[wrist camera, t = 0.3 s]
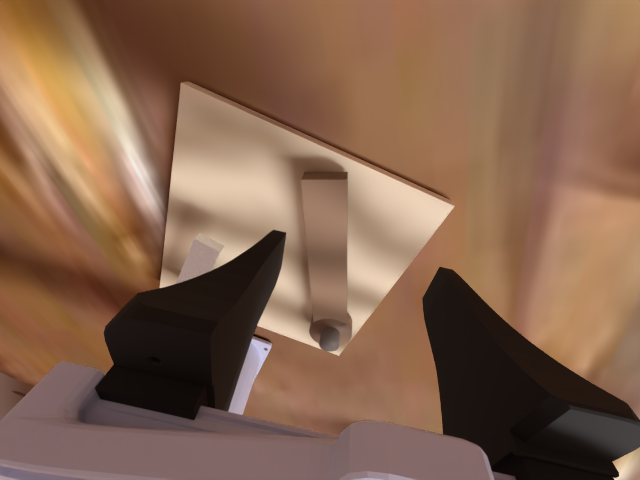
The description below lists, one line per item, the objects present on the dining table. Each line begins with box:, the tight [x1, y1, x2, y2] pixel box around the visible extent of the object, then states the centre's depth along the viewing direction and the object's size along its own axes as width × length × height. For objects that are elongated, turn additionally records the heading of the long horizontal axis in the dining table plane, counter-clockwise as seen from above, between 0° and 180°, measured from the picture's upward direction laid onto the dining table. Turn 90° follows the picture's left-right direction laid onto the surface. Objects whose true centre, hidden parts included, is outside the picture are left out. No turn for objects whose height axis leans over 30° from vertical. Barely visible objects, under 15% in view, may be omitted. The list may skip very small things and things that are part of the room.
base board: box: [160, 81, 454, 355], centre depth 25 cm, size 20×20×1 cm
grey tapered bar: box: [301, 172, 352, 352], centre depth 23 cm, size 17×4×3 cm, turn 3°
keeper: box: [176, 233, 224, 284], centre depth 24 cm, size 8×2×3 cm, turn 149°
